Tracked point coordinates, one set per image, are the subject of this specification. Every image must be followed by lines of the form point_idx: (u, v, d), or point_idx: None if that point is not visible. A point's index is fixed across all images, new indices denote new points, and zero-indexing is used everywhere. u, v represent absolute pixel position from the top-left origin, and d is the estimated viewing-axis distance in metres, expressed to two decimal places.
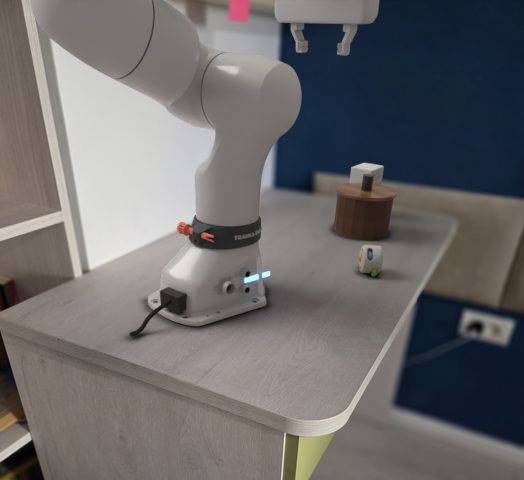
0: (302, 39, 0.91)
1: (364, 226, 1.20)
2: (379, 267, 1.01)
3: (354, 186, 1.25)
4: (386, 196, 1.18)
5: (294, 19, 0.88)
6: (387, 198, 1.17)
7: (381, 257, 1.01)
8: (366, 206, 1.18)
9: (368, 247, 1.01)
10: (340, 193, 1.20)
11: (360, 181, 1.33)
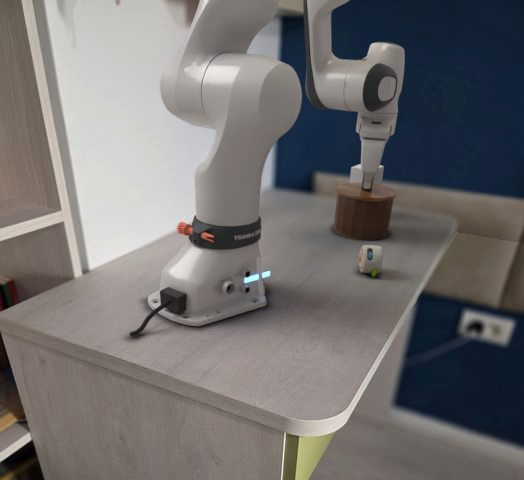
0: None
1: (364, 226, 1.20)
2: (379, 267, 1.01)
3: (354, 186, 1.25)
4: (386, 196, 1.18)
5: None
6: (387, 198, 1.17)
7: (381, 257, 1.01)
8: (366, 206, 1.18)
9: (368, 247, 1.01)
10: (340, 193, 1.20)
11: (360, 181, 1.33)
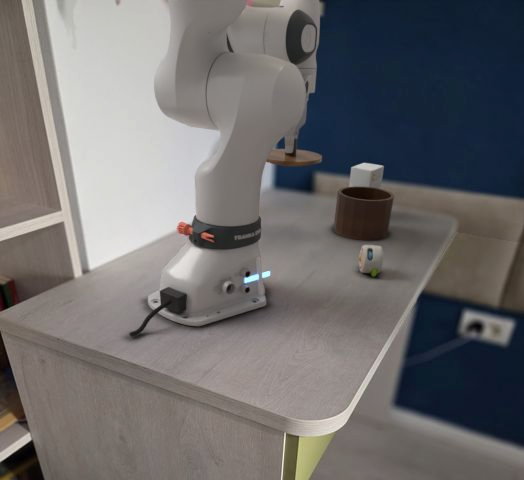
0: None
1: (364, 226, 1.20)
2: (379, 267, 1.01)
3: (279, 152, 1.17)
4: (308, 160, 1.10)
5: None
6: (309, 162, 1.10)
7: (381, 257, 1.01)
8: (366, 206, 1.18)
9: (368, 247, 1.01)
10: None
11: (360, 181, 1.33)
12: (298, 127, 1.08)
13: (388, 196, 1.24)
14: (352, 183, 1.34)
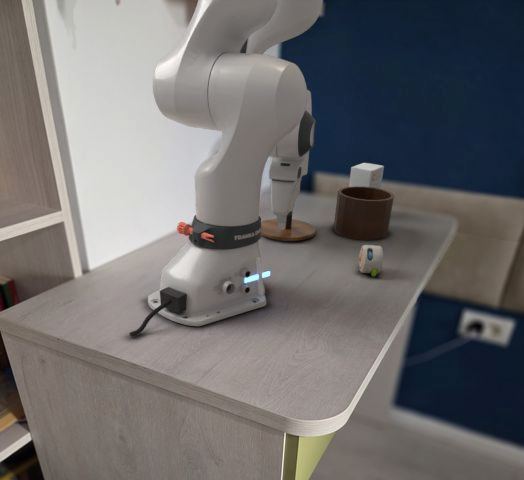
0: (290, 209, 1.26)
1: (364, 226, 1.20)
2: (379, 267, 1.01)
3: (275, 223, 1.26)
4: (302, 235, 1.19)
5: None
6: (303, 237, 1.19)
7: (381, 257, 1.01)
8: (366, 206, 1.18)
9: (368, 247, 1.01)
10: None
11: (360, 181, 1.33)
12: (292, 204, 1.17)
13: (388, 196, 1.24)
14: (352, 183, 1.34)
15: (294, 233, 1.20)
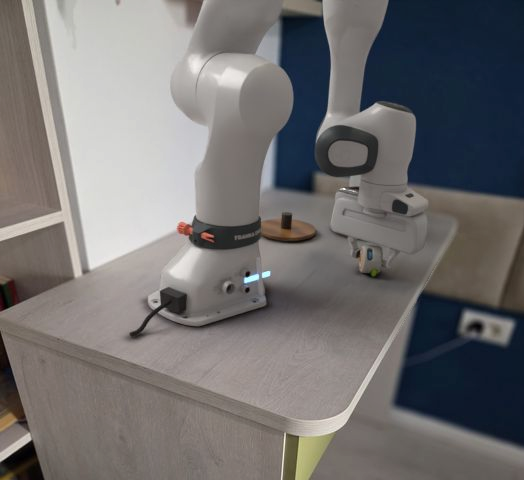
0: (356, 247, 1.05)
1: None
2: (379, 267, 1.01)
3: (275, 223, 1.26)
4: (302, 235, 1.19)
5: (349, 234, 1.03)
6: (303, 237, 1.19)
7: (381, 257, 1.01)
8: None
9: (367, 247, 1.01)
10: None
11: None
12: None
13: None
14: (352, 183, 1.34)
15: (294, 233, 1.20)
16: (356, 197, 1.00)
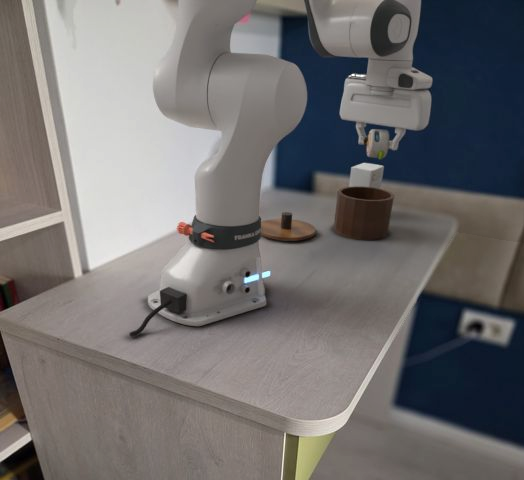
0: (364, 134, 1.12)
1: (364, 226, 1.20)
2: (385, 149, 1.08)
3: (275, 223, 1.26)
4: (302, 235, 1.19)
5: (357, 119, 1.09)
6: (303, 237, 1.19)
7: (387, 139, 1.07)
8: (366, 206, 1.18)
9: (375, 130, 1.08)
10: None
11: (360, 181, 1.33)
12: None
13: (388, 196, 1.24)
14: (352, 183, 1.34)
15: (294, 233, 1.20)
16: (364, 81, 1.06)
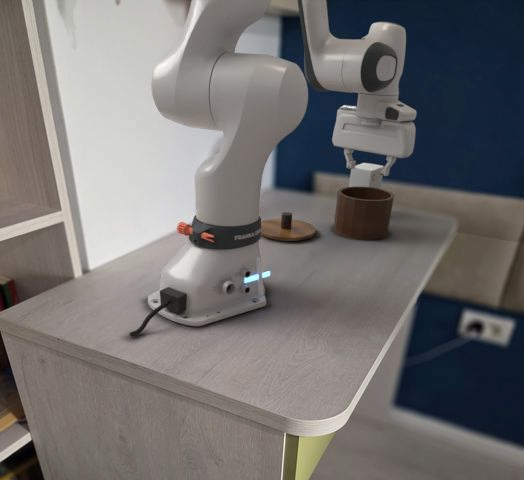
0: (351, 159, 1.22)
1: (364, 226, 1.20)
2: None
3: (275, 223, 1.26)
4: (302, 235, 1.19)
5: (348, 146, 1.19)
6: (303, 237, 1.19)
7: None
8: (366, 206, 1.18)
9: None
10: None
11: (360, 181, 1.33)
12: None
13: (388, 196, 1.24)
14: (352, 183, 1.34)
15: (294, 233, 1.20)
16: (355, 112, 1.16)
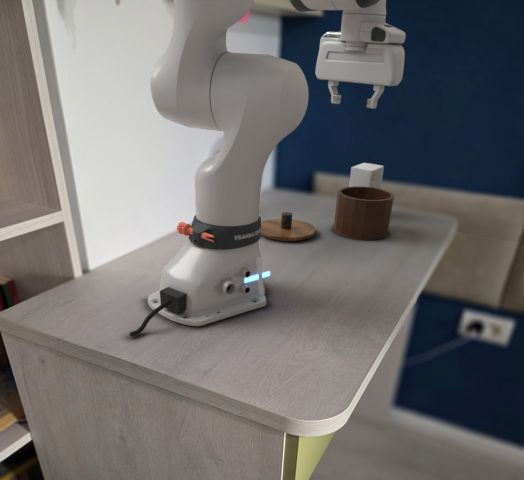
0: (336, 93, 1.12)
1: (364, 226, 1.20)
2: None
3: (275, 223, 1.26)
4: (302, 235, 1.19)
5: (332, 77, 1.09)
6: (303, 237, 1.19)
7: None
8: (366, 206, 1.18)
9: None
10: None
11: (360, 181, 1.33)
12: None
13: (388, 196, 1.24)
14: (352, 183, 1.34)
15: (294, 233, 1.20)
16: (339, 39, 1.06)
